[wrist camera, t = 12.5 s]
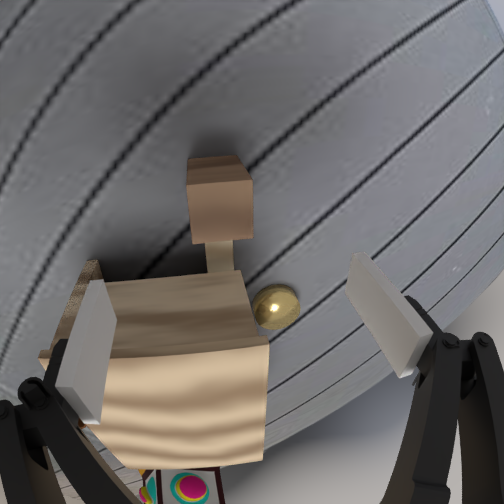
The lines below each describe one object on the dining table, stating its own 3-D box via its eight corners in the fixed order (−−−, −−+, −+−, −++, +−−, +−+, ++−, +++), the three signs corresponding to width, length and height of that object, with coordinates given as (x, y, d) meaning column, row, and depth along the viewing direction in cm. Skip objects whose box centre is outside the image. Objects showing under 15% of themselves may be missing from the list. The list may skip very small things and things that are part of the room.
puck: (243, 298, 40) (247, 310, 38) (283, 276, 40) (288, 286, 38) (265, 324, 43) (268, 336, 41) (301, 303, 43) (307, 315, 41)
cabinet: (82, 257, 33) (37, 358, 19) (244, 241, 36) (278, 342, 22) (132, 384, 45) (128, 468, 32) (247, 374, 48) (267, 459, 35)
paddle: (187, 159, 30) (186, 185, 22) (236, 155, 31) (252, 179, 23) (209, 346, 44) (216, 396, 36) (243, 342, 44) (255, 391, 37)
